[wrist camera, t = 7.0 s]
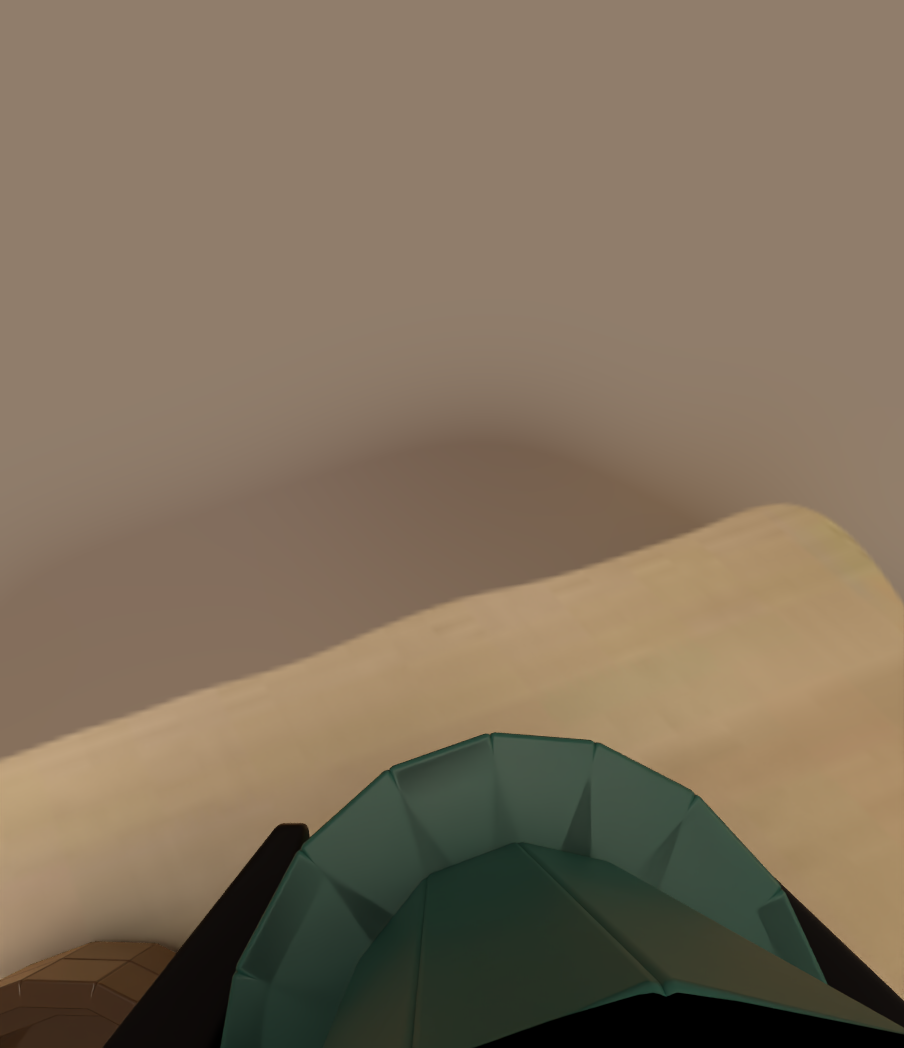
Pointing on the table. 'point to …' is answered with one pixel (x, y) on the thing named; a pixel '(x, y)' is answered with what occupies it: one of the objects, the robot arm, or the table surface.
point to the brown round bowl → (77, 994)
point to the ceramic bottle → (534, 918)
